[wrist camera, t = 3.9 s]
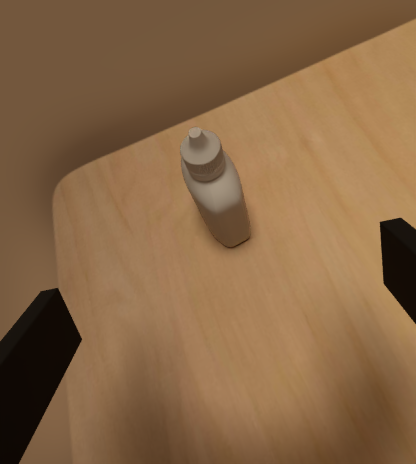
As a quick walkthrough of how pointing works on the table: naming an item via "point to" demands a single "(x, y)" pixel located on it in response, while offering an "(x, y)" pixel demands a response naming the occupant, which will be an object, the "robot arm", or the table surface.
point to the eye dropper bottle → (215, 186)
